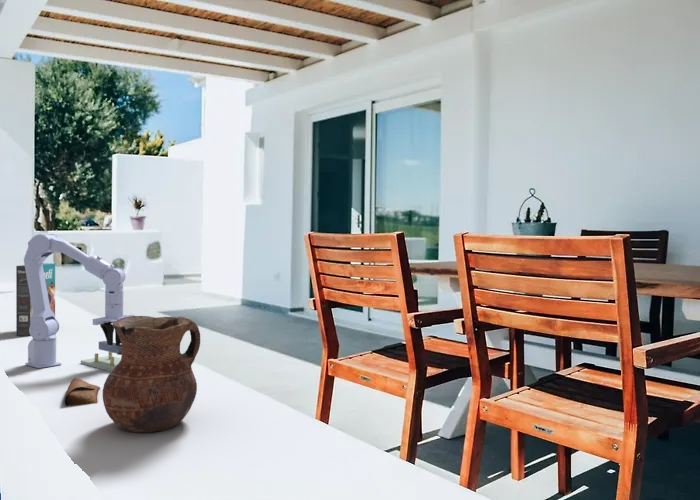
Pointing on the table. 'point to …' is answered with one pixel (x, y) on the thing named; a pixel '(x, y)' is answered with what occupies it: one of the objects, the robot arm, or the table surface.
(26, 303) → the cake mix box
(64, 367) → the table surface
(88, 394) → the sunglasses case
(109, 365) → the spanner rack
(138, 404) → the jug
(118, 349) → the dark grey spoon shape
